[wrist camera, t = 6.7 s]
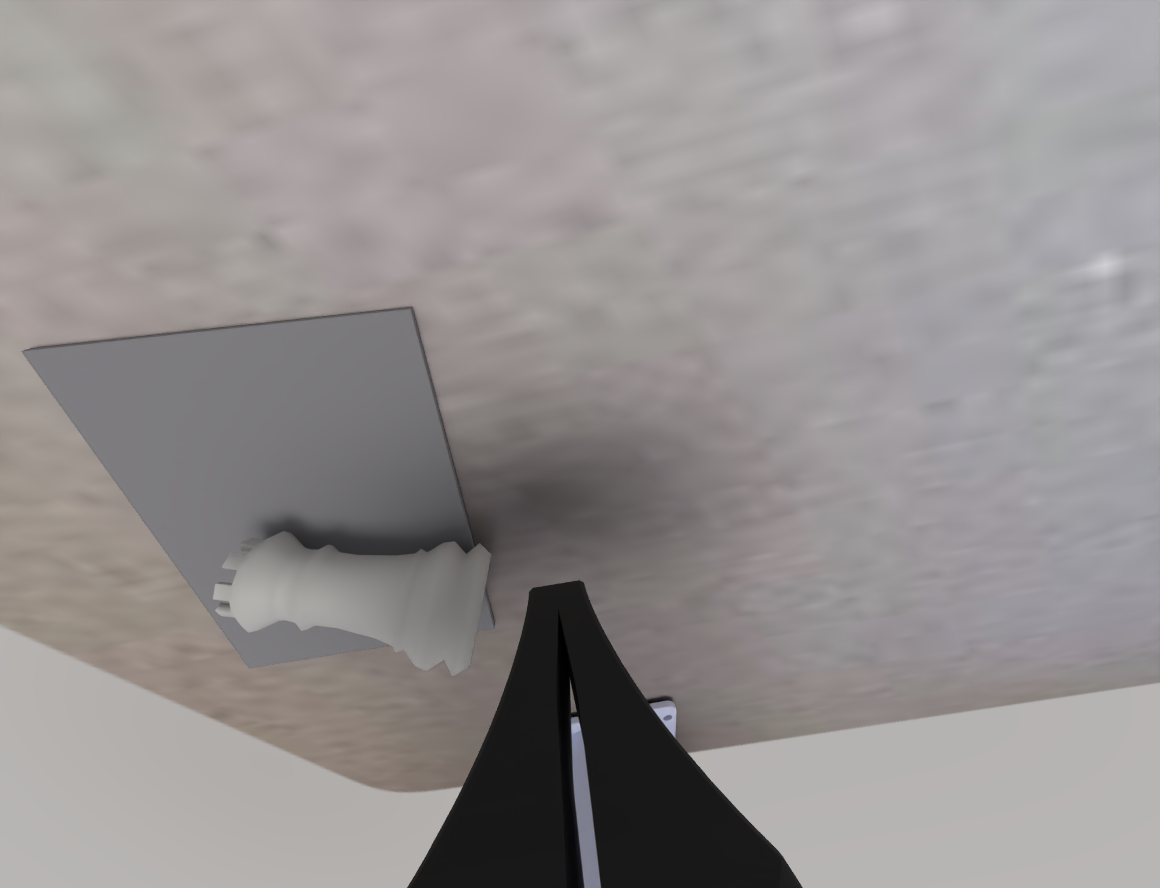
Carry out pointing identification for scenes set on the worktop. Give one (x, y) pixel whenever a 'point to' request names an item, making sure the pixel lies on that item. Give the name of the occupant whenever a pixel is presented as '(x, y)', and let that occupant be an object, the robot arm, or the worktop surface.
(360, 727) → the worktop surface
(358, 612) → the rook chess piece
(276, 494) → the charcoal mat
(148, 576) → the worktop surface
